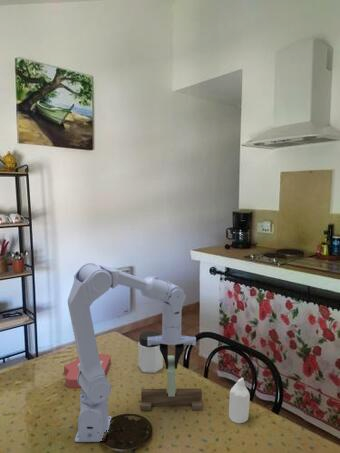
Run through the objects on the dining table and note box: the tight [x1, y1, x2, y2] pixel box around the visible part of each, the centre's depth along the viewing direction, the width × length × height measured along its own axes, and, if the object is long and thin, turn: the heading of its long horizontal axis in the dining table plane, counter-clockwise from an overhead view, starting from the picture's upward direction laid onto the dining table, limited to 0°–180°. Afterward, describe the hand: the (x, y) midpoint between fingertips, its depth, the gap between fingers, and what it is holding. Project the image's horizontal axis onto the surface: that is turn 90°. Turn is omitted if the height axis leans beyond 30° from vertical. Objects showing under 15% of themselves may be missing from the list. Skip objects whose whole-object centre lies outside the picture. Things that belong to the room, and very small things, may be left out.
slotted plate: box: [167, 354, 176, 396], centre depth 104 cm, size 10×2×8 cm, turn 2°
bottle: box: [228, 377, 251, 424], centre depth 96 cm, size 6×12×6 cm
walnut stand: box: [140, 388, 204, 412], centre depth 102 cm, size 6×18×4 cm, turn 91°
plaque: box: [63, 353, 112, 389], centre depth 119 cm, size 18×4×15 cm
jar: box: [137, 330, 164, 374], centre depth 123 cm, size 9×8×12 cm
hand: (171, 367), depth 103 cm, fingers closed on slotted plate, 2 cm apart
